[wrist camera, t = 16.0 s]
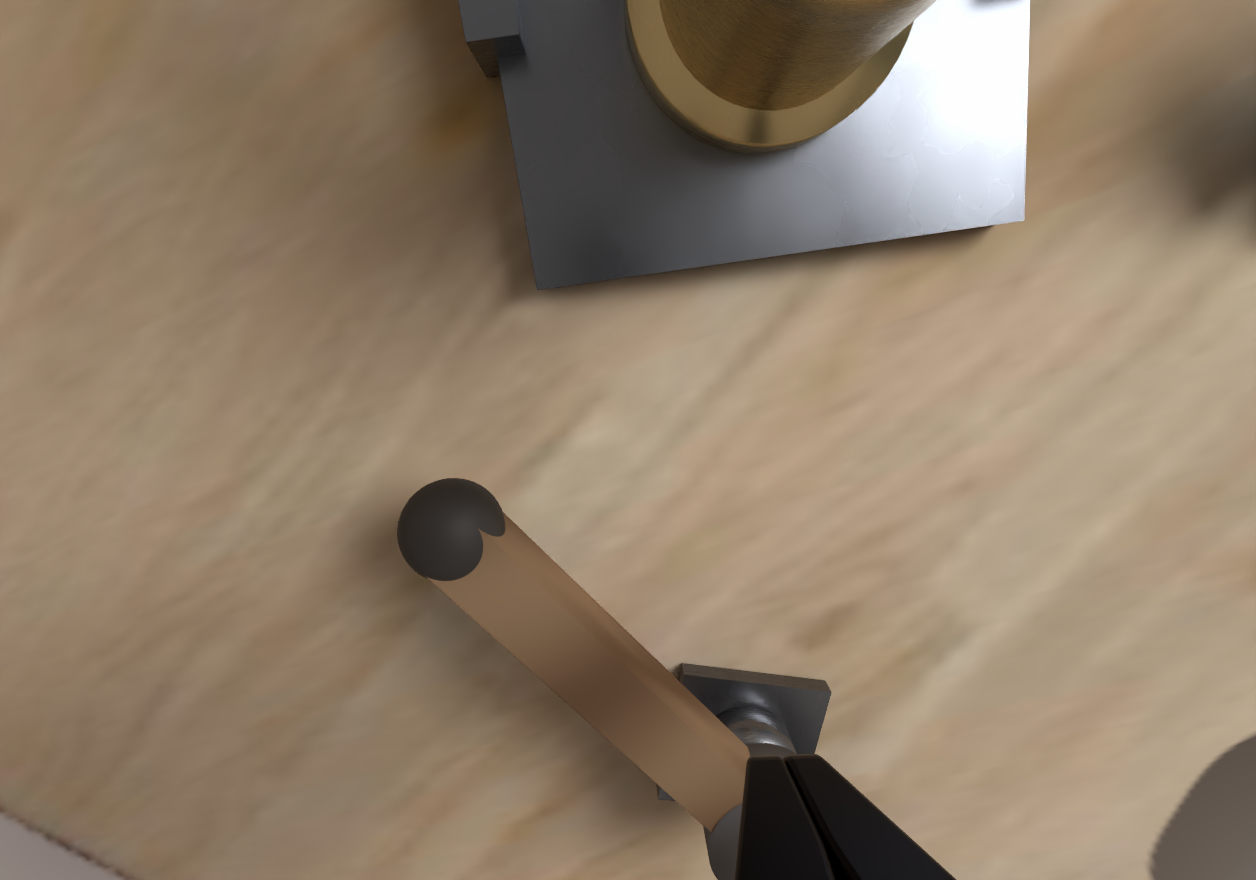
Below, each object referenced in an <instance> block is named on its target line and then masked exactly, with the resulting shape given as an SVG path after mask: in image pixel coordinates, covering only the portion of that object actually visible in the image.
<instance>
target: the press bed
mask: <svg viewBox="0 0 1256 880" xmlns="http://www.w3.org/2000/svg"><path fill="white" fill-rule="evenodd" d="M458 2H459V7H460V13H461V18H462V24H463V29H464V35H465V40H466V43H467V45H468V47H469V48H470V50H471V52H472V53H473V55H474V57H475V58H476V60H477V62H478V64H479V65H480V67H481V69H482V70H483V72H484V74H485V76H486V77H491V76H498V75H500V76H501V82H502V88H503V94H504V99H505V105H506V111H507V117H508V123H509V129H510V135H511V140H512V146H513V152H514V158H515V164H516V170H517V175H518V181H519V187H520V193H521V199H522V205H523V210H524V216H525V222H526V228H527V234H528V240H529V246H530V251H531V257H532V263H533V269H534V275H535V281H536V286H537V290H543V289H550V288H557V287H564V286H571V285H578V284H585V283H592V282H599V281H606V280H613V279H620V278H627V277H634V276H641V275H648V274H655V273H662V272H669V271H676V270H683V269H690V268H697V267H704V266H711V265H718V264H725V263H732V262H739V261H746V260H753V259H760V258H767V257H774V256H781V255H788V254H795V253H802V252H809V251H816V250H823V249H830V248H837V247H844V246H851V245H858V244H865V243H872V242H879V241H886V240H893V239H900V238H907V237H914V236H921V235H928V234H935V233H942V232H949V231H956V230H963V229H970V228H977V227H984V226H991V225H998V224H1004V223H1011V222H1018V221H1024V209H1025V172H1026V134H1027V97H1028V59H1029V22H1030V0H937V1H936V2H935V3H934V4H933V5H932V6H930V7H929V8H928V9H927V10H926V11H925V12H923V13H922V14H921V15H920V16H919V17H917V18H916V19H915V20H914V23H913V26H912V29H911V31H910V34H909V37H908V40H907V42H906V44H905V46H904V48H903V50H902V52H901V54H900V57H899V59H898V60H897V62H896V64H895V65H894V67H893V68H892V70H891V71H890V73H889V75H888V76H887V78H886V79H885V80H884V81H883V83H882V84H881V85H880V86H879V88H878V89H877V90H876V91H875V93H874V94H873V95H872V96H871V97H870V98H869V99H868V100H867V101H866V102H865V103H864V104H863V105H862V106H861V107H860V108H858V109H857V110H856V111H854V112H853V113H852V114H850V115H849V116H848V117H847V118H845V119H844V120H842V121H841V122H840V123H838V124H837V125H835V126H834V127H832V128H831V129H829V130H828V131H826V132H825V133H823V134H821V135H820V136H818V137H816V138H815V139H813V140H811V141H809V142H807V143H804V144H802V145H799V146H797V147H795V148H791V149H787V150H783V151H779V152H773V153H765V154H744V153H738V152H732V151H727V150H724V149H721V148H718V147H714V146H711V145H709V144H707V143H705V142H703V141H701V140H699V139H697V138H695V137H694V136H692V135H691V134H689V133H688V132H686V131H685V130H683V129H682V128H681V127H680V126H678V125H677V124H676V123H675V122H674V121H673V120H672V119H671V118H669V117H668V116H667V114H666V113H665V112H664V111H663V110H662V109H661V107H660V106H659V105H658V104H657V103H656V101H655V100H654V98H653V97H652V95H651V94H650V92H649V91H648V89H647V88H646V86H645V84H644V82H643V80H642V78H641V76H640V74H639V72H638V69H637V67H636V64H635V61H634V58H633V55H632V52H631V49H630V44H629V40H628V35H627V30H626V20H625V0H458Z"/></svg>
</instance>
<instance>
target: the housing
mask: <svg viewBox="0 0 1256 880" xmlns="http://www.w3.org/2000/svg"><path fill="white" fill-rule="evenodd" d="M936 1H937V0H625V20H626V30H627V35H628V40H629V44H630V49H631V52H632V55H633V58H634V61H635V64H636V67H637V69H638V72H639V74H640V76H641V78H642V80H643V82H644V84H645V86H646V88H647V89H648V91H649V92H650V94H651V95H652V97H653V98H654V100H655V101H656V103H657V104H658V105H659V106H660V107H661V109H662V110H663V111H664V112H665V113H666V114H667V116H668V117H669V118H671V119H672V120H673V121H674V122H675V123H676V124H677V125H678V126H680V127H681V128H682V129H683V130H685V131H686V132H688V133H689V134H691V135H692V136H694V137H695V138H697V139H699V140H701V141H703V142H705V143H707V144H709V145H711V146H714V147H718V148H721V149H724V150H727V151H732V152H738V153H744V154H765V153H773V152H779V151H783V150H787V149H791V148H795V147H797V146H799V145H802V144H804V143H807V142H809V141H811V140H813V139H815V138H816V137H818V136H820V135H821V134H823V133H825V132H826V131H828V130H829V129H831V128H832V127H834V126H835V125H837V124H838V123H840V122H841V121H842V120H844V119H845V118H847V117H848V116H849V115H850V114H852V113H853V112H854V111H856V110H857V109H858V108H860V107H861V106H862V105H863V104H864V103H865V102H866V101H867V100H868V99H869V98H870V97H871V96H872V95H873V94H874V93H875V91H876V90H877V89H878V88H879V86H880V85H881V84H882V83H883V81H884V80H885V79H886V78H887V76H888V75H889V73H890V71H891V70H892V68H893V67H894V65H895V64H896V62H897V60H898V59H899V57H900V54H901V52H902V50H903V48H904V46H905V44H906V42H907V40H908V37H909V34H910V31H911V29H912V26H913V23H914V20H915V19H916V18H917V17H919V16H920V15H921V14H922V13H923V12H925V11H926V10H927V9H928V8H929V7H930V6H932V5H933V4H934V3H935V2H936Z"/></svg>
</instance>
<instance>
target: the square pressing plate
mask: <svg viewBox="0 0 1256 880" xmlns="http://www.w3.org/2000/svg"><path fill="white" fill-rule="evenodd" d="M678 681H679V682H680V683H681V684H682V685H684V686H685V687H686V688H687V689H688V690H689V691H690V692H691V693H692V694H693V695H694V696H695V697H696V698H697V699H698V700H699V701H700V702H701V703H702V704H703V705H704V706H705V707H706V708H707V709H709V710H710V711H711V712H712V713H713V714H714V715H715V716H716V717H717V718H718V719H719V720H720V721H721V722H722V723H723V724H724V725H725V726H726V727H727V728H728V729H729V730H730V731H731V732H732V733H734V734H735V735H736V736H737V737H738V738H739V739H740V740H741V741H742V742H743V743H744V744H745V745H747V744H754V743H768V744H775V745H779V746H782V747H785V748H787V749H789V750H791V751H793V752H794V753H796V754H814V753H815V749H816V746H817V742H818V739H819V735H820V731H821V728H822V724H823V721H824V717H825V714H826V710H827V706H828V703H829V699H830V696H831V690H830V689H829V687H828V685H827V683H826V681H823V680H815V679H806V678H798V677H790V676H782V675H773V674H765V673H757V672H749V671H741V670H732V669H724V668H716V667H708V666H699V665H691V664H683V663H682V666H681V671H680V675H679V680H678ZM657 793H658V799H662V800H672V801H675V800H674V799H673V798H672V797H671V796H670V795H669V794H668V793H667V792H665V791H664V790H663V789H662V788H661V787H660V786H659V785H658V784H657Z"/></svg>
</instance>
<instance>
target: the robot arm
mask: <svg viewBox="0 0 1256 880" xmlns="http://www.w3.org/2000/svg"><path fill="white" fill-rule="evenodd" d="M734 880H956V879H955V878H954V877H953V876H952V875H951V874H950V873H948V872H947V871H946V870H945V869H944V868H943V867H942V866H941V865H940V864H939V863H937V862H936V861H935V860H934V859H933V858H932V857H931V856H930V855H929V854H928V853H926V852H925V851H924V850H923V849H922V848H921V847H920V846H919V845H918V844H917V843H916V842H914V841H913V840H912V839H911V838H910V837H909V836H908V835H907V834H906V833H905V832H903V831H902V830H901V829H900V828H899V827H898V826H897V825H896V824H895V823H894V822H892V821H891V820H890V819H889V818H888V817H887V816H886V815H885V814H884V813H883V812H881V811H880V810H879V809H878V808H877V807H876V806H875V805H874V804H873V803H872V802H871V801H869V800H868V799H867V798H866V797H865V796H864V795H863V794H862V793H861V792H860V791H858V790H857V789H856V788H855V787H854V786H853V785H852V784H851V783H850V782H849V781H847V780H846V779H845V778H844V777H843V776H842V775H841V774H840V773H839V772H838V771H837V770H835V769H834V768H833V767H832V766H831V765H830V764H829V763H828V762H827V761H826V760H824V759H823V758H822V757H820V756H819V755H816V754H795V755H787V756H785V757H784V758H781V757H780V756H778V755H768V756H751V757H749V758H748V760H747V764H746V773H745V782H744V791H743V801H742V810H741V820H740V829H739V838H738V848H737V857H736V867H735V876H734Z"/></svg>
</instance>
